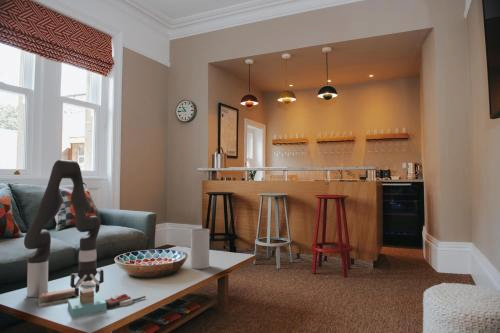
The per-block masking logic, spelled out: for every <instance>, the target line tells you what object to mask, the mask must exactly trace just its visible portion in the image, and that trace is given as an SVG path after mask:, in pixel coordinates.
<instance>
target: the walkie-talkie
mask: <svg viewBox="0 0 500 333" xmlns="http://www.w3.org/2000/svg"><path fill="white" fill-rule="evenodd" d="M146 297H147V296H146V295H143V296H141V297H137V298H131V296H130V295H128V294H126V293H124V292H123V293H119V294H116V295H114V297H113V296H111V297H110V298H107V299H104V300H105V302H106V309H113V308H116V307H119V306H120V307H124V306H128V305H132V304H133V303H135V302H136V301H140V300H142V299H145V298H146Z"/></svg>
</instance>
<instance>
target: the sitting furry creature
mask: <svg viewBox="0 0 500 333" xmlns="http://www.w3.org/2000/svg"><path fill="white" fill-rule="evenodd" d="M95 284H96V283H95V281H94V280H91V281H86V282H84V281H83V282H82V283H81V284H80V286H81V285H82V286H84V287H85V286H86V287H95Z"/></svg>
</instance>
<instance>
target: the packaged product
mask: <svg viewBox="0 0 500 333" xmlns="http://www.w3.org/2000/svg"><path fill="white" fill-rule="evenodd" d="M37 298H38V299H37V304H38V306H39V307H40V308H42V307H46V306H53V305H59V304H64V303H68V300H70V299H75V298H80V294H79V296H76V295H75V288H71V289H65V290H64V289H63V290H57V291H56V290H55V291H51V292H49V291H48V293H42V294H40V296H39V297H37Z"/></svg>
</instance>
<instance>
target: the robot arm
mask: <svg viewBox="0 0 500 333" xmlns="http://www.w3.org/2000/svg"><path fill="white" fill-rule="evenodd" d="M81 170H82V169H81V167H80V164H79V163H78V161H76V160H71V159H57V160H56V161H55V162H54V163H53V166H52V169H51V172H50V176H49V179H48V182H47V186H46V189H45V191H44V192H43V196H42V198H41V200H40V203H39V205H38V208H37V211H36V214H35V216H34V218H33V220H32V222H31V223H30V226H29V228H28V230H27V231H26V233H25V235H24V238H23V239H24V240H23V245H24V247H25V249H27V250H35V251H34V252H33V253H31V255H29V256H28V257H27V276H26V277H27V279H26V285H27V287H26V289H27V290H26V296H27V297H28V298H38V297H39V296H40V294H42V293H49V257H50V254H51V243H52V238H51V233H50V231H49V230H48V229H44V228H45V226H46V225H48V224H49V223H50V222H51V221H52V220H54V218H55V217H56V216H57V215H58V213H59V212H60V210H61V206H62V203H63V197H62V194H61V190H60V184H61V182H62V180H63V179H69V180H71V182H72V186H73V187H72V192H71V194H70V202H71V205H72V207H73V210H74V217H75V218H74V219H75V229H77V231H78V232H80V233H87V234H86V235H85V236H82V237H80V239H79V252H78V272H77V273H71V274H70V287H71V289H75V295H76V296H79V295H80V288H79V287H81V283H82V282H83V281H84V282H86V281H91V280H94V281H95V283H96V284H95V286H94V287H95V288H94V289H95V290H94V293H95V294H97V293H99V291H100V284H103V283H104V280H105V279H104V278H105V277H104V274H105V273H104V270H103V269H102V268H100V269H99V270H97V257H98V256H97V238H98V236H99V231H100V228H101V220H100V218H99V217H98V215H90V216H89V215H88V216H86V215H87V214H89V213H90V212H91V210H92V209H91V204H90V202H89V199H88V197H87V194H86V190H85V187H84V180H83V176H82V171H81ZM97 274H98V275H99V280H98V279H97V278H96V275H97ZM77 277H78V279H77ZM75 279H77V281H76V282H75Z"/></svg>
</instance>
